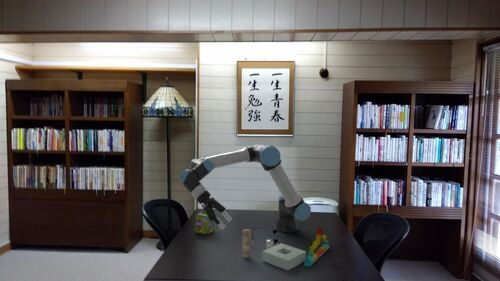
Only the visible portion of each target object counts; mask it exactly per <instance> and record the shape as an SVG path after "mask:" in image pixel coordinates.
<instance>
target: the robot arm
mask: <svg viewBox="0 0 500 281" xmlns="http://www.w3.org/2000/svg"><path fill="white" fill-rule="evenodd" d="M281 155H282V154H281V153H280V150H279V149H278V148H277V147H275V146H274V145H270V144H264V143H258V144H253V145H250V146H245V147H243V148H242V149H239V150H234V151H230V152H226V153H221V154H217V155H211V156H207V157H202V158H193V159H191V161H190V162H189V168H190V169H188V168H187V169H184V171H182V172H181V173H180V174H179V175H178V180H179V181H180V183H181V184H182V185H183V186H184V187H185V188H186V190H187V191H188V192H189V193H190V194H191V196H192V197H193V198H195V199H196V201H197V202H198V203H199V205H201V207H202V209H203V208H204V210H205V212H206V214H207V215H208V217H209V219H210V220H211V221H214V222H215V224H216V225H217V227H219V229H220V230H221V231H222V230H224V229H225V228H226V225H225V224H224V222H223V221H222V220H221V218H219V217H218V216H217V215H216V213H215V210H217V211H218V212H219V213H221V215H222V216H223V217H224V218H225V220H226V221H227V222H228V223H230V222H231V221H233V218H232V217H231V215H230V214H229V213H228V212H227V211H226V209H227V208H226V206H224V205H222V204H221V203H220V202H219V201H218V200H216V198H214V197H213V196H211V195H212V194H211V193H210V192H209V190H207V188H206V187H205V186H204V185H203V184H202V182H201V181H202V180H203V179H204V178H205V177H206V176H208V175H209V174H210V173H212V171H213V170H214V169H218V168H223V167H228V166H232V165H236V164H240V163H246V164H248V163H259V164H261V167H262V168H263V170H264V171H265V172H268V173H269V176H270V177H271V179H272V180H273V182H274V184H275V186H276V187H277V189H278V191H279V192H280V193H281V195H279V197H278V211H277V212H278V213H277V214H278V216H277V219H276V221H275V226H274V228H275V230H276V231H278V232H281V233H295V232H298V231H299V226H298V221H300V222H304V221H306V220H307V219H308V218H309V217H310V216H311V212H312V208H311V206H310V204H309V203H308V202H306V201H305V200H304V199H303V196H302V195H301V194H299V193H297V191H296V190H295V187H294V186H293V184H292V182H291V180H290V178H289V177H288V175H287V173H286V171H285V170H284V168H283V166H282V159H281ZM210 197H211V198H210Z"/></svg>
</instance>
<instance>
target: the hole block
mask: <svg viewBox="0 0 500 281" xmlns="http://www.w3.org/2000/svg"><path fill="white" fill-rule="evenodd" d="M261 254H262V258H261V260H262V261H263V262H265V263H268V264H270V265H272V266H275V267H278V268H281V269H283V270H285V271H290V270H291V269H293V268H296V267H297V266H299V265H301V264H302V263H303V264H304V262H305V261H306V260H307V258H305V257H307V251H306V250H303V249H300V248H297V247H294V246H290V245H287V244H284V243H279V244H276V245H273V247H271V248H269V249H266V248H265V249H264V250H262V253H261Z"/></svg>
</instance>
